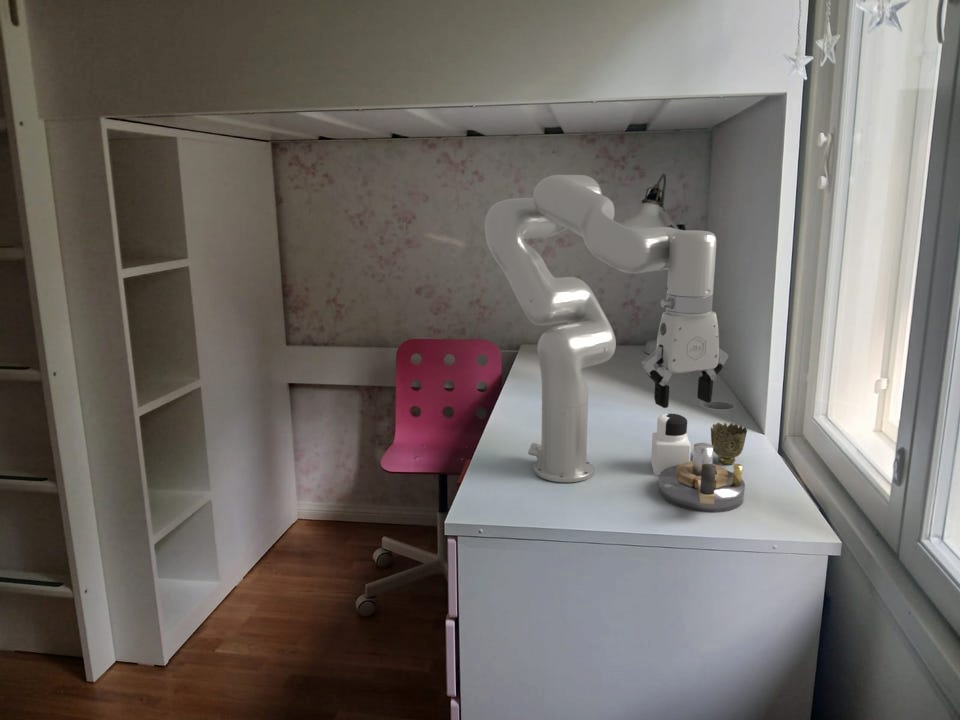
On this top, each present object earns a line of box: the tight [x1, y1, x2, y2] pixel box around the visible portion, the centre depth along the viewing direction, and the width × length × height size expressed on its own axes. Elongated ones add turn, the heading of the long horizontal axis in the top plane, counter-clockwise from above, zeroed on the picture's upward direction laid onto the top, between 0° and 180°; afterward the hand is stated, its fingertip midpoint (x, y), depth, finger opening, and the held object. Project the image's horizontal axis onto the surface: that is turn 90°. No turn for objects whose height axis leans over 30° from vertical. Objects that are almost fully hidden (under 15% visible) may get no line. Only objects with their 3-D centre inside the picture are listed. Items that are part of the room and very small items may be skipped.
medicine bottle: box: [650, 413, 692, 476], centre depth 153 cm, size 7×7×12 cm
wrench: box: [676, 460, 729, 504], centre depth 137 cm, size 16×10×7 cm, turn 168°
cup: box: [710, 422, 748, 466], centre depth 157 cm, size 8×7×8 cm
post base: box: [658, 442, 746, 513], centre depth 141 cm, size 16×16×10 cm
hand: (683, 402), depth 127 cm, fingers open, 8 cm apart
